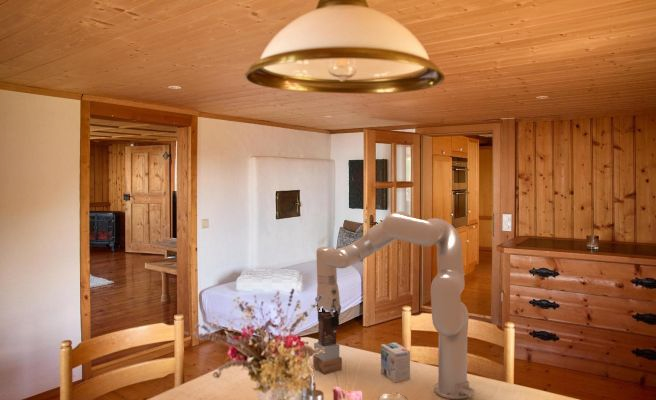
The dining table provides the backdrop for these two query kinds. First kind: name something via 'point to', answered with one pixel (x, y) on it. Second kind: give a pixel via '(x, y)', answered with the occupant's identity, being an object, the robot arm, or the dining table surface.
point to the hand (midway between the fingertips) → (328, 323)
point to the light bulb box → (395, 362)
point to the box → (326, 330)
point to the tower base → (327, 365)
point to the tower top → (327, 351)
